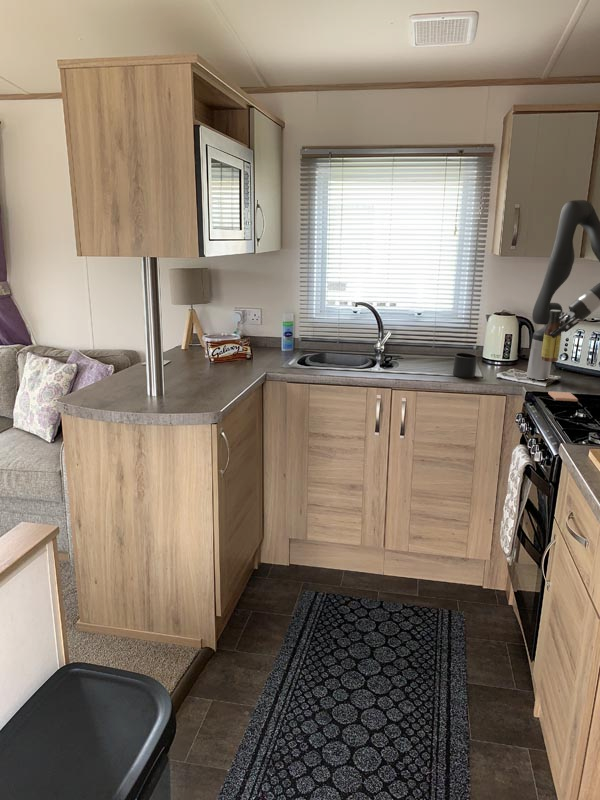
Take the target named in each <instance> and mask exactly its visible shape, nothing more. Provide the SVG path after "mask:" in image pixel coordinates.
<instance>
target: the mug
mask: <svg viewBox="0 0 600 800" xmlns="http://www.w3.org/2000/svg"><path fill="white" fill-rule="evenodd" d="M477 362H478V355H476V354H474V353H469V352H458V353H457V352H456V353H455V354H454V361H453V369H452V375H453V376H455V377H457V378H462V379H473V378H474V377H476V369H477Z"/></svg>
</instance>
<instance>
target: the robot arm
mask: <svg viewBox="0 0 600 800" xmlns="http://www.w3.org/2000/svg"><path fill="white" fill-rule="evenodd" d="M578 225H580V226H581V228H583V230H584V231H585V232H586V233H587V235H588V238H589V240H590V247H591V251H592V252H593V254H594V256H595V257H596V259H597V261H599V263H600V219H599V216H598V214H597V212H596V210H595V208H594V206H593V204H592V203H591V202H590V201H589V200H585V199H580V200H579V199H574V200H568V201H567V202H566V203H565V204H564V205H563V206H562V208H561V211H560V216H559V219H558V226H557V231H556V234H555V235H556V236H555V239H554V240H555V241H554V243H553V248H552V250H551V254H550V257H549V260H548V263H547V268H546V272H545V276H544V278H543V283H542V285H541V288H540V291H539V294H538V295H537V299H536V300H535V303H534V305H533V309H532V315H531V316H532V322H533V323H534V324H535V325H541V326H542V325H544V326H543V327H541V328H540V329H537V330H536V331H535V332H533V335H532V340H531V346H530V352H529V359H528V363H527V364H528V365H527V370H526V375H527V376H528V377H530V378H535V379H546V378H549V377H550V373H551V368H552V367H551V366H552V363H553V362H547V361H544V360H542V356H541V355H542V347H543V339H544V332H545V328H546V326H547V324H548V322H549V319H550V310H560V311H561V315H560V322H559V323H560V326H559V327H558V328H556V329H555V330H554V331H553V332H551V333H550V335H551V337H552V338H555V337H556V336H557V335H559V334H560V333H561V334H562V333H566V332H568V331H570V330H571V329H572V328H574V327H575V326H577V325H578V324H579V323H580V322H579V321H581V322H582V321H584V320H585V319H586V318H588V317H589V316H590V315H592V314H593V313H594V312H595V311H596V310H597V309H598V308H600V282H599V283H597V284H595V285H594V286H593V287H591V289H589V290H588V291H586V292H585V293H583V294H582V295H581V296H579V297H578V298H577V299H576V300H574V301H572V303H570V305H568V310H569V311H568V312H564V311H563V308H562V304H560V303H558V302H552V298H553V296H554V294H555V293H556V292H557V291H558V289H559V288H560V287H561V286H562V285H564V283H565V282H566V281H567V280H568V278H569V277H570V275H571V272H572V269H573V267H574V262H575V249H574V237H575V232H576V229H577V227H578ZM549 379H550V378H549Z"/></svg>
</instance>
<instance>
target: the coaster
mask: <svg viewBox="0 0 600 800" xmlns="http://www.w3.org/2000/svg"><path fill="white" fill-rule="evenodd" d="M547 393H548V395H549V396H550V397H551V398H552V399H553V400H554V401H560V402H561V401H563V402H578V401H579V399H578V398H577V397H576V396H575V395H574V394H572V393H571V392H567V391H565V392H564V391H552V390H551V391H549V390H548V392H547Z"/></svg>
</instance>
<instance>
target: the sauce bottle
mask: <svg viewBox="0 0 600 800" xmlns="http://www.w3.org/2000/svg"><path fill="white" fill-rule="evenodd" d="M560 315H561V311H560V310H550V319H549V322H548V324H547V326H546V328H545V332H544V339H543V347H542V355H541V356H542V360H544V361H547V362H552V363H555V362H557V361H558V360H559V354H560V348H561V347H560V346H561V341H562V339H561V338H562V332H561V333H560V334H559V335H557V336H556V337H555V338H552V337H551V335H550V333H551V332H553V331H554V330H555V329H556V328H558V327H559V326H560V323H559V322H560Z"/></svg>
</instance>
